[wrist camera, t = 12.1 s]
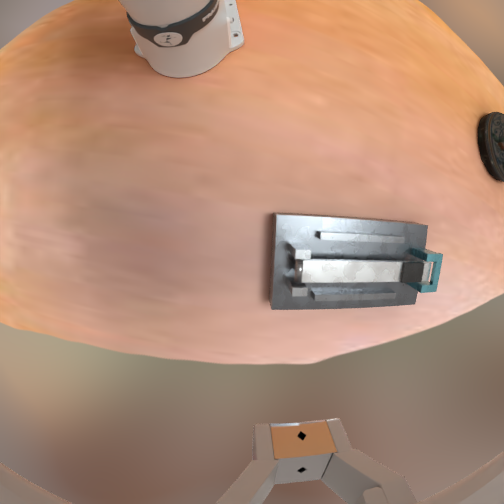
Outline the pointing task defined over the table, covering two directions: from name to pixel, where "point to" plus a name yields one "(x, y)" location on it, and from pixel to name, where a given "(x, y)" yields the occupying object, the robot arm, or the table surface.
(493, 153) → the beer stein
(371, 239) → the grey mechanical fixture
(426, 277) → the silver long bar
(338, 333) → the table surface
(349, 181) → the table surface
